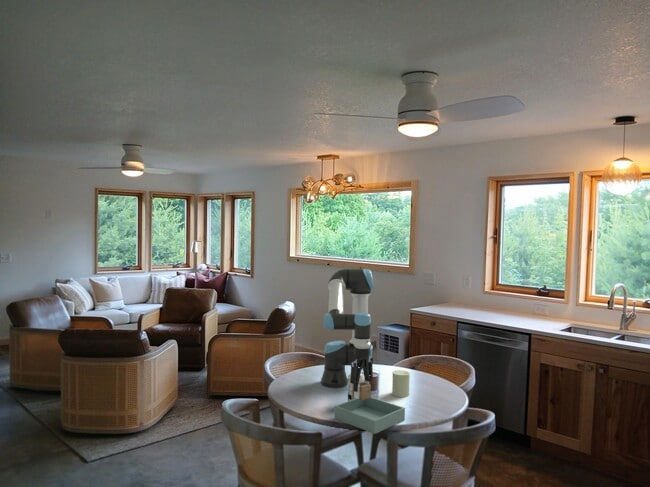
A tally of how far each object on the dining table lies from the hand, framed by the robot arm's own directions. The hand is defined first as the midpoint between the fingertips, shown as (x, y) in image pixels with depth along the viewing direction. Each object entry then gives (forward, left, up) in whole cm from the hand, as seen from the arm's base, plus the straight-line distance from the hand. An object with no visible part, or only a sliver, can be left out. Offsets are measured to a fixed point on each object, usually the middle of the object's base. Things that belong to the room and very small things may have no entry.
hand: (361, 396), depth 222 cm
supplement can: (-12, +10, -9) cm, 18 cm away
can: (-5, +38, -9) cm, 40 cm away
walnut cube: (0, 0, 0) cm, 0 cm away
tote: (+5, 0, -9) cm, 11 cm away
